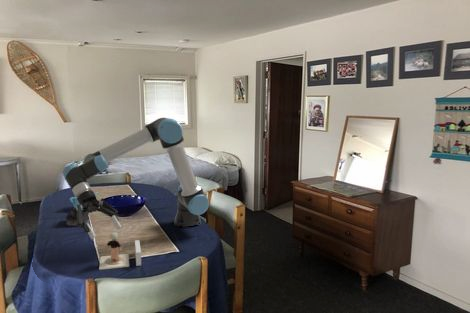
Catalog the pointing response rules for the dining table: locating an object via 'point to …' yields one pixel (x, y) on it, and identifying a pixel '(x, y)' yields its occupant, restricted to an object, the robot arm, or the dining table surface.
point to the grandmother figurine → (114, 247)
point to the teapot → (76, 201)
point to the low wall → (137, 252)
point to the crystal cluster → (73, 218)
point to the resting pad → (108, 264)
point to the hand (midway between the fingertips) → (107, 232)
